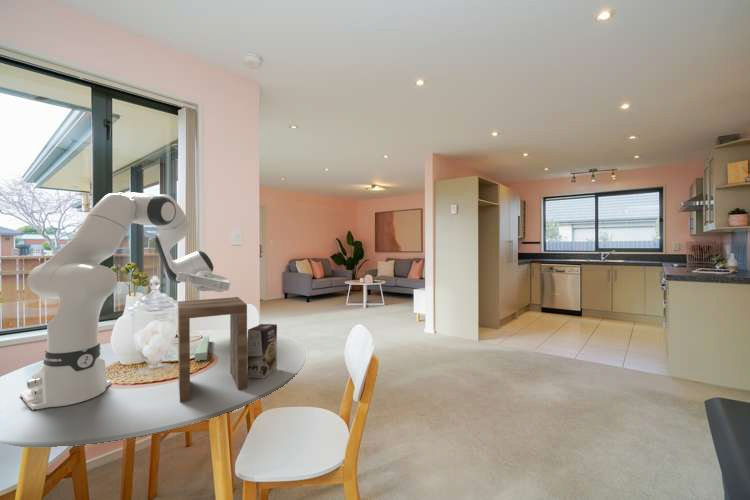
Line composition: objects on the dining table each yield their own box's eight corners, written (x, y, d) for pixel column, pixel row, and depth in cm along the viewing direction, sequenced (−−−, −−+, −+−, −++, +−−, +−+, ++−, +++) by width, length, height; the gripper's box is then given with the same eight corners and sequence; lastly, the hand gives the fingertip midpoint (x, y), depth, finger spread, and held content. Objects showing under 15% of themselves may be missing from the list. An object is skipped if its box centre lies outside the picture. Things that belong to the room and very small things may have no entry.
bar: (198, 343, 151) (198, 335, 151) (208, 342, 153) (208, 334, 153) (194, 362, 127) (194, 353, 127) (206, 361, 129) (206, 352, 129)
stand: (178, 381, 109) (178, 301, 109) (238, 371, 119) (237, 297, 118) (179, 402, 96) (179, 310, 95) (247, 388, 105) (247, 304, 104)
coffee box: (264, 379, 112) (264, 330, 112) (246, 377, 113) (246, 329, 113) (277, 369, 121) (277, 324, 120) (261, 367, 122) (261, 323, 122)
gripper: (180, 268, 144) (176, 268, 132) (231, 279, 152) (231, 280, 139) (175, 282, 143) (171, 284, 131) (227, 292, 151) (227, 295, 139)
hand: (203, 282), depth 135 cm, fingers open, 8 cm apart
